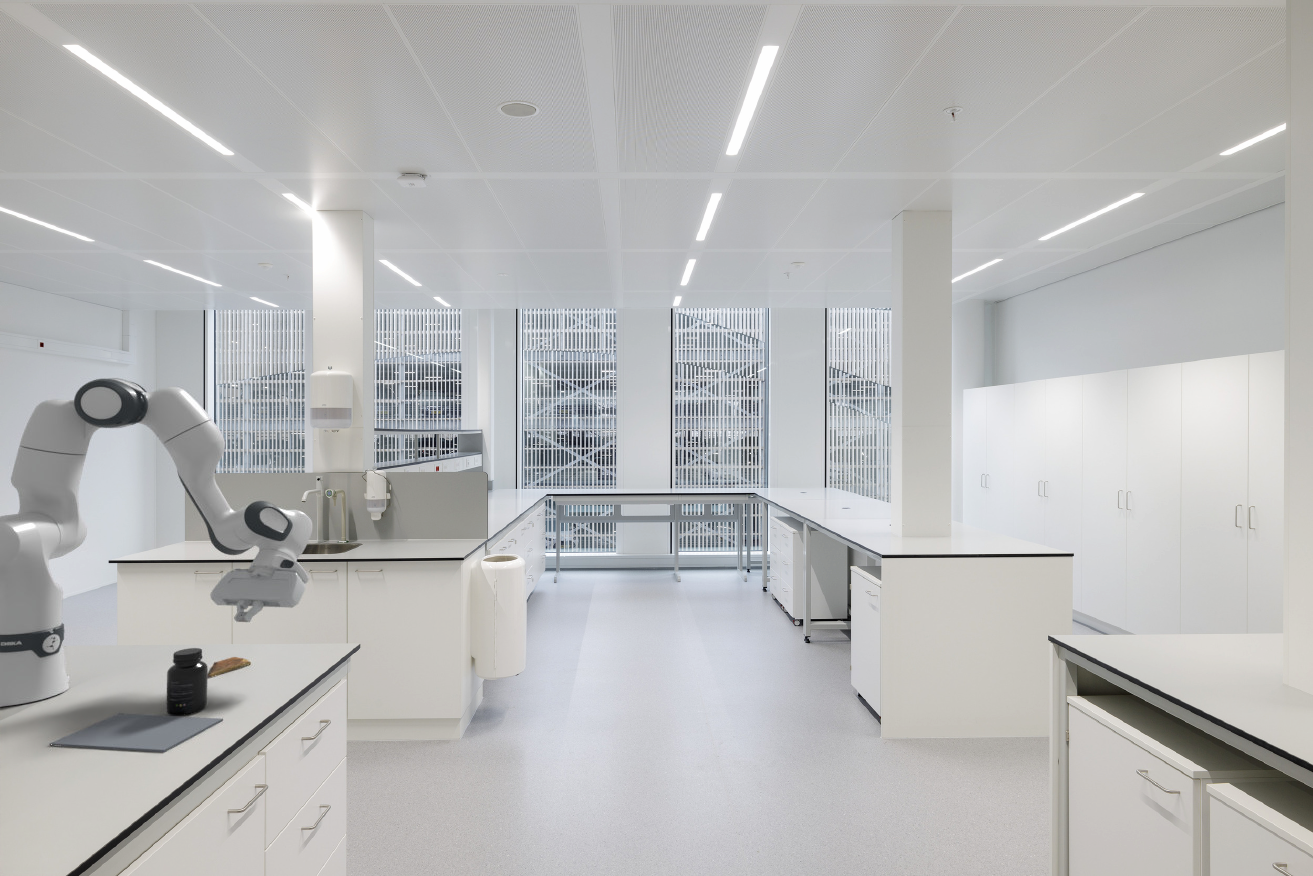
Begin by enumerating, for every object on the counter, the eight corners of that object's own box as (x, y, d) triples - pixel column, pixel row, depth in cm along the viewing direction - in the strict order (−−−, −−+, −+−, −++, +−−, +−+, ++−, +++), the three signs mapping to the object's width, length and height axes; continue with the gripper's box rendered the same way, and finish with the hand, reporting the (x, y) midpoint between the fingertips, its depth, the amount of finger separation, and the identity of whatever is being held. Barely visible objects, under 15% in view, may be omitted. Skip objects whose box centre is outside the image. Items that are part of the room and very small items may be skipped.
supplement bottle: (173, 706, 138) (175, 647, 139) (211, 702, 140) (213, 645, 141) (159, 718, 132) (161, 657, 132) (200, 715, 134) (201, 654, 134)
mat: (49, 745, 119) (49, 743, 119) (119, 715, 133) (119, 713, 133) (164, 752, 117) (164, 750, 117) (222, 720, 131) (223, 718, 131)
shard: (209, 680, 155) (209, 672, 155) (186, 676, 158) (186, 668, 158) (252, 666, 165) (252, 659, 166) (230, 663, 168) (230, 655, 168)
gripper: (223, 561, 160) (191, 611, 150) (305, 563, 159) (277, 614, 149) (236, 576, 165) (205, 626, 155) (315, 578, 163) (289, 629, 153)
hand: (241, 620), depth 152 cm, fingers closed
